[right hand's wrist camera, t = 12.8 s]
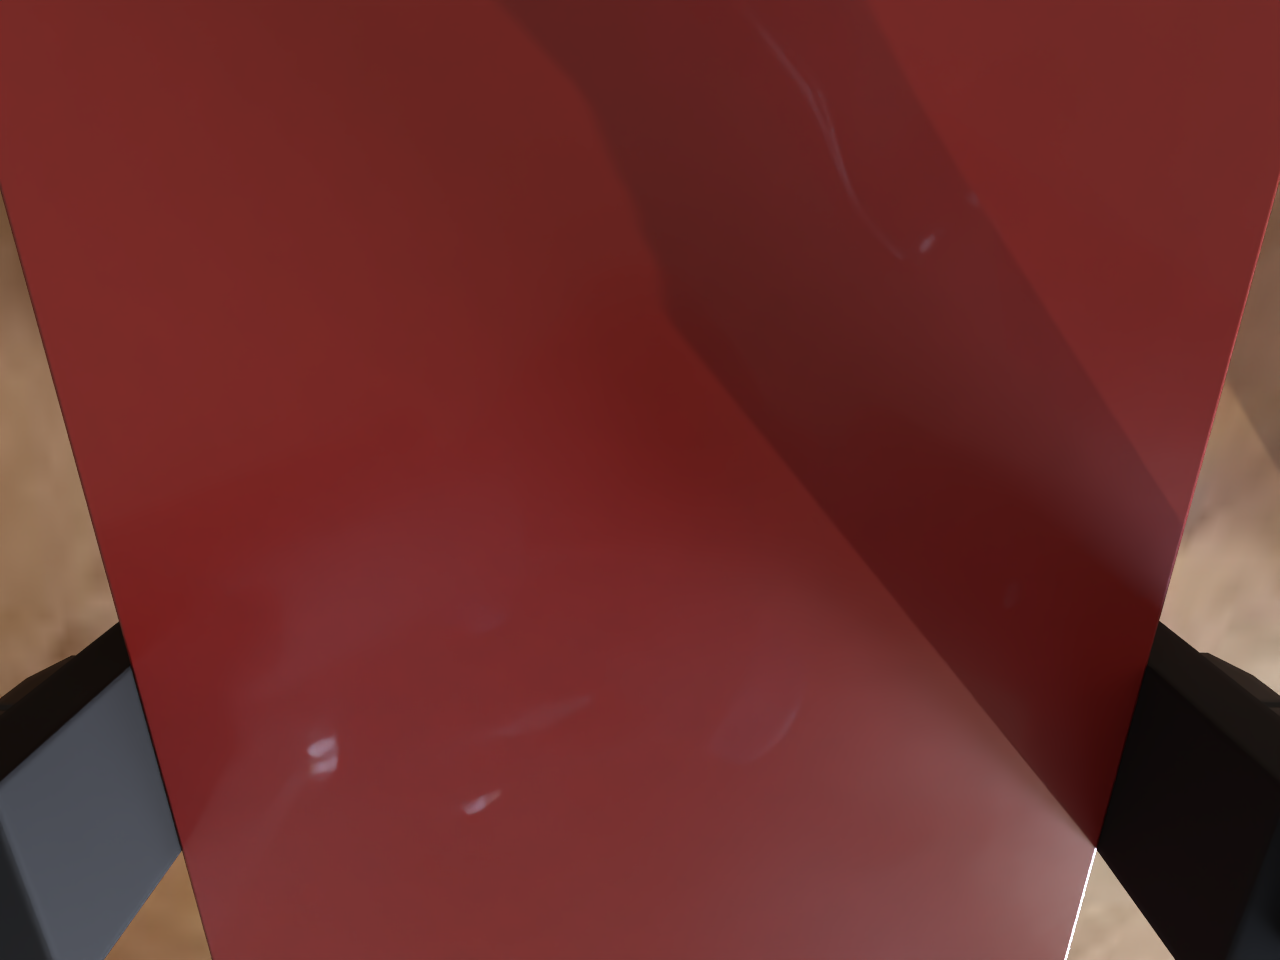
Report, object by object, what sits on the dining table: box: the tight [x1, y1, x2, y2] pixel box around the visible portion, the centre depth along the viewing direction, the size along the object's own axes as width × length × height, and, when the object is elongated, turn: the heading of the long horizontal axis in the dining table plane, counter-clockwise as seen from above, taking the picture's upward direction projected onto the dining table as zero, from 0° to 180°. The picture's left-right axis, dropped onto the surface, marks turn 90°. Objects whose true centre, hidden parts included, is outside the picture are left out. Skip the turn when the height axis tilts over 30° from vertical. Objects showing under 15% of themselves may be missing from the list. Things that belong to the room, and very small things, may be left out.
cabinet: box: [0, 0, 1280, 960], centre depth 13 cm, size 17×11×12 cm, turn 0°
